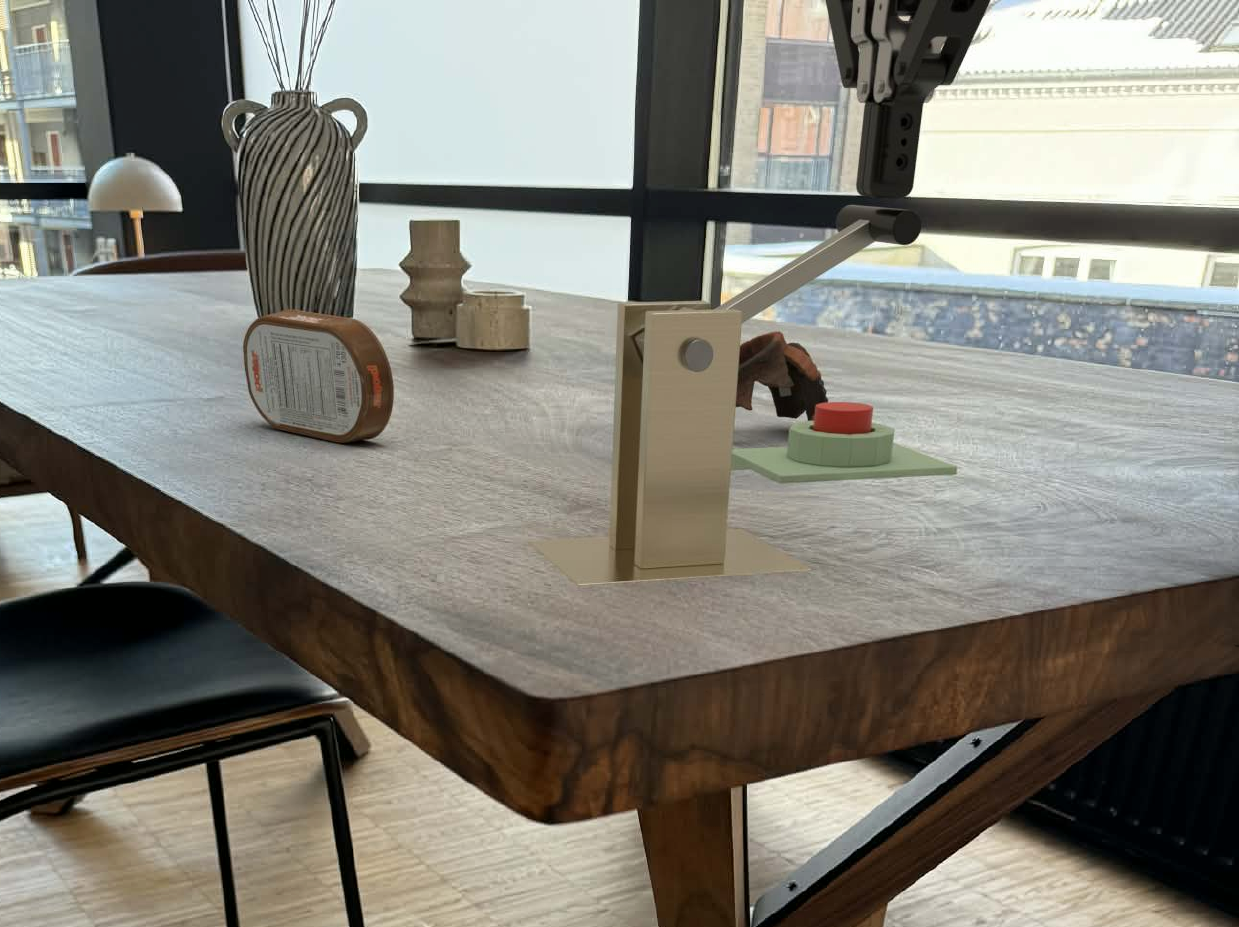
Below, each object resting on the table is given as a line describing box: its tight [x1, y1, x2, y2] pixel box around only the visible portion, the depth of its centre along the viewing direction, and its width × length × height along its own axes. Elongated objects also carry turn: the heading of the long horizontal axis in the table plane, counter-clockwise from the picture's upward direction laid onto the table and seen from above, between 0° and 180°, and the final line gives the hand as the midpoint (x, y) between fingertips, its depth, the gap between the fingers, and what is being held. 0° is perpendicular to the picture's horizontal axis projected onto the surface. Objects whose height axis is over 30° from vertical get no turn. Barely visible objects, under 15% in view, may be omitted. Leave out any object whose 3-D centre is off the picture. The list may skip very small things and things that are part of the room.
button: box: [813, 401, 874, 434], centre depth 96 cm, size 4×4×2 cm
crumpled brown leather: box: [736, 331, 829, 421], centre depth 113 cm, size 12×10×8 cm
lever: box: [635, 204, 922, 359], centre depth 72 cm, size 13×6×2 cm, turn 105°
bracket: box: [527, 300, 813, 587], centre depth 74 cm, size 12×9×13 cm
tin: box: [242, 308, 395, 444], centre depth 111 cm, size 15×3×8 cm, turn 44°
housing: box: [731, 420, 958, 484], centre depth 97 cm, size 12×9×4 cm
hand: (883, 195), depth 71 cm, fingers closed
